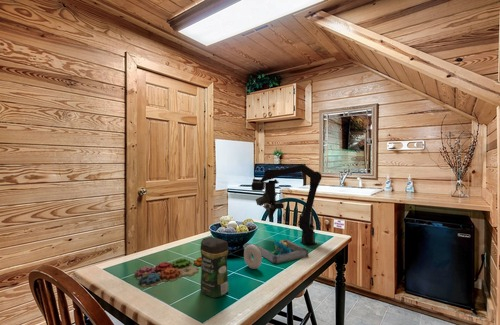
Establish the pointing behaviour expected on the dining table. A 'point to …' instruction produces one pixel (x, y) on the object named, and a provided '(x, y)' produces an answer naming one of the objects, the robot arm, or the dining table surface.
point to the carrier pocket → (298, 253)
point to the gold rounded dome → (284, 242)
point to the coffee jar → (214, 267)
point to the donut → (256, 253)
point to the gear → (281, 248)
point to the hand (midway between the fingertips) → (270, 218)
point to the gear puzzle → (167, 272)
